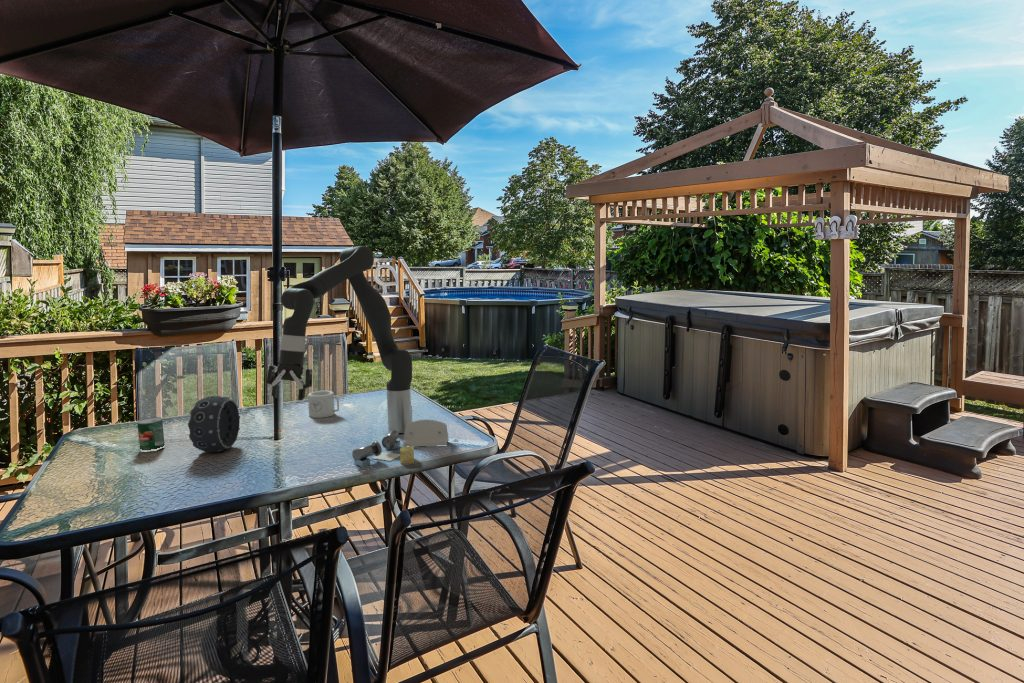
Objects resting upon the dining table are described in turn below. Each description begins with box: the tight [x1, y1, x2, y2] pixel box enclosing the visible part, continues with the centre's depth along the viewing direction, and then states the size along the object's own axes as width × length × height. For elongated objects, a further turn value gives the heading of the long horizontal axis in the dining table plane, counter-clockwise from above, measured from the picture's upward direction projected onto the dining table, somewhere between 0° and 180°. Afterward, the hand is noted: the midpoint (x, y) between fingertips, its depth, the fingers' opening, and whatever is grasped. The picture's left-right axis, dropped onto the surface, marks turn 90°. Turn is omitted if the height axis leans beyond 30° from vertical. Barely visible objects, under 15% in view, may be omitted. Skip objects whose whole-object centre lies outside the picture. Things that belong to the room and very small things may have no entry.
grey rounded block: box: [402, 419, 450, 447], centre depth 220 cm, size 17×5×10 cm, turn 91°
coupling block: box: [399, 446, 415, 465], centre depth 201 cm, size 4×4×4 cm
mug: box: [307, 390, 340, 419], centre depth 259 cm, size 14×11×10 cm
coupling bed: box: [371, 451, 400, 462], centre depth 206 cm, size 7×8×1 cm
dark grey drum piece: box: [187, 395, 241, 453], centre depth 213 cm, size 11×20×20 cm, turn 2°
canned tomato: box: [136, 416, 166, 450], centre depth 216 cm, size 8×8×11 cm
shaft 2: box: [381, 430, 401, 450], centre depth 213 cm, size 9×5×6 cm, turn 179°
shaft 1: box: [351, 441, 383, 468], centre depth 199 cm, size 9×5×6 cm, turn 138°
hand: (287, 399), depth 192 cm, fingers open, 8 cm apart
